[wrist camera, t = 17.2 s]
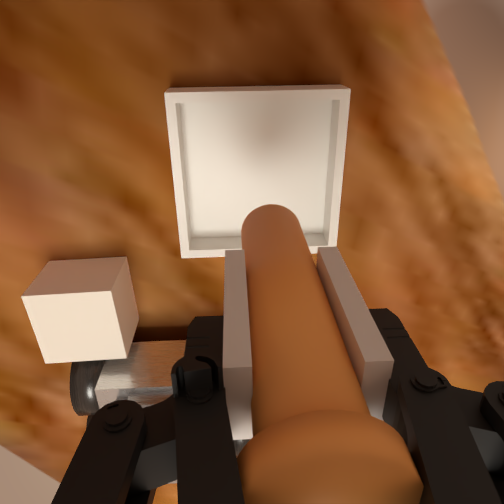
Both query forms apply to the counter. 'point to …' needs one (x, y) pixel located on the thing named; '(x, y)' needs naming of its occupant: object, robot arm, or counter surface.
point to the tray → (255, 160)
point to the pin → (308, 387)
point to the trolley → (128, 379)
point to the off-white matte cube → (83, 309)
